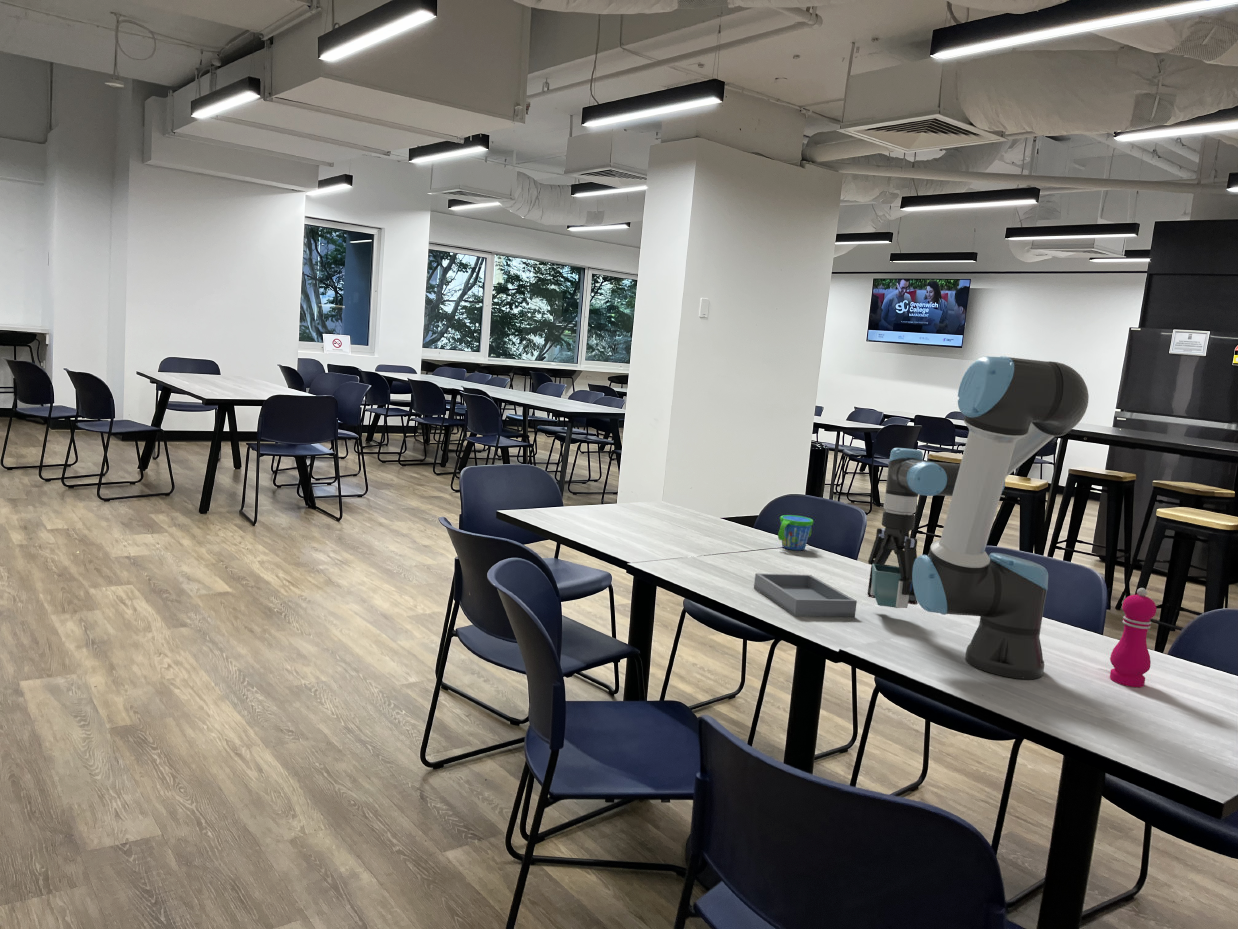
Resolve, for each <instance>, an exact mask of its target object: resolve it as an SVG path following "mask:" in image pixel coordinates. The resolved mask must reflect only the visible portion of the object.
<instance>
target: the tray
mask: <svg viewBox="0 0 1238 929" xmlns="http://www.w3.org/2000/svg"><path fill="white" fill-rule="evenodd" d="M753 589H755V591H757V592H759V593H760V594H762V595H763V596H765V597H766V598H767V599H769V600H770V601H772V602H773V603H774V604H776V605H778V607H780V608H782V609H783V610H785V611H786V612H788V613H789V614H791V615H793V616H794V617H819V618H821V617H824V618H825V617H827V618H829V617H830V618H832V617H834V618H835V617H836V618H837V617H838V618H839V617H841V618H855V617H856V610H857V603H858V602H857V601H858V600H856V599H854V598H852V596H849V595H847V594H845V593H843V592H842V591H841V590H838V589H836V588H834V587H833V586H832V585H829V584H827V582H825V581H822V580H821V579H819V578H817V577H815V576H814V575H812V574H796V573H795V574H794V573H793V574H792V573H761V572H759V573H758V572H757V573H756V572H755V575H754V584H753Z"/></svg>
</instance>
